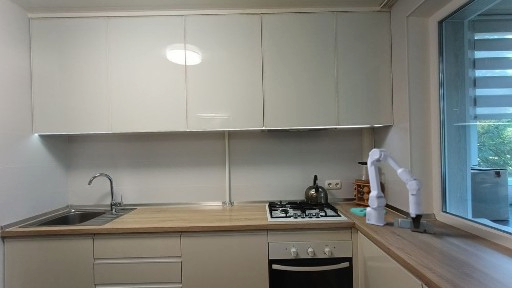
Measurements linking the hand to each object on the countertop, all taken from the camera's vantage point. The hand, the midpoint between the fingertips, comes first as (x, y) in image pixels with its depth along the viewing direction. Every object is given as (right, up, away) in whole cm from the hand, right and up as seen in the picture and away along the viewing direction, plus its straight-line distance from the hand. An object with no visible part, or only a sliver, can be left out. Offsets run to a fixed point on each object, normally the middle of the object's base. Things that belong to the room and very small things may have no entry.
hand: (416, 228), depth 142 cm
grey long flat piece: (+1, -2, +5) cm, 5 cm away
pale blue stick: (+2, -2, +6) cm, 7 cm away
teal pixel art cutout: (-9, -4, +43) cm, 44 cm away
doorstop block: (+2, -2, +2) cm, 3 cm away
